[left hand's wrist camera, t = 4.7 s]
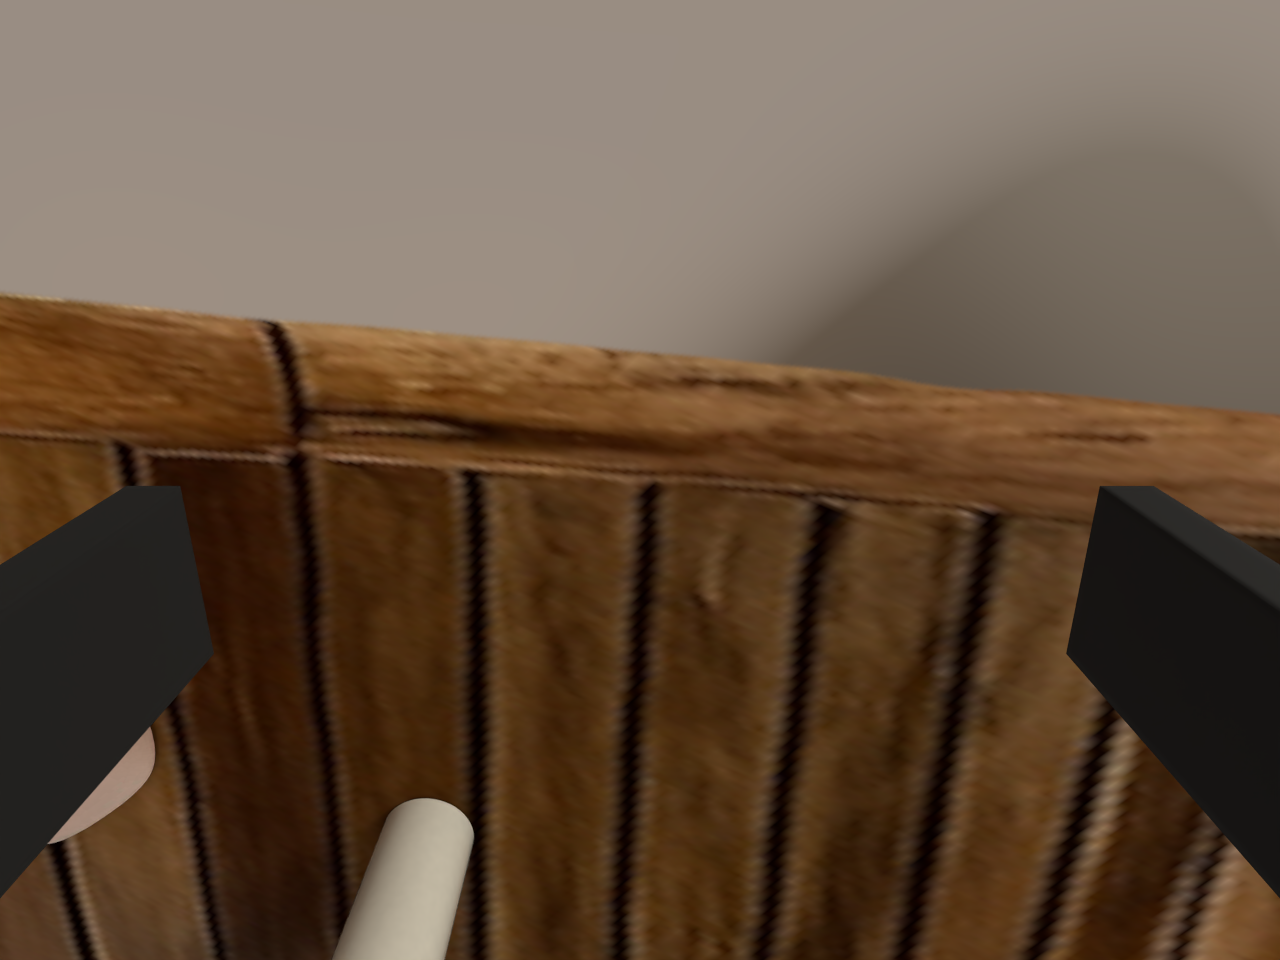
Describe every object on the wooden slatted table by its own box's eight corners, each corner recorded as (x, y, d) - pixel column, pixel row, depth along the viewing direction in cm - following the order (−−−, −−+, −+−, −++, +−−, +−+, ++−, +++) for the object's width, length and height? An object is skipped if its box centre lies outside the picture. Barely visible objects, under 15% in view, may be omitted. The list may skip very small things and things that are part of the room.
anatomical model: (20, 651, 40) (172, 823, 44) (73, 610, 44) (208, 771, 48) (-186, 756, 42) (-25, 912, 46) (-119, 708, 46) (25, 856, 50)
